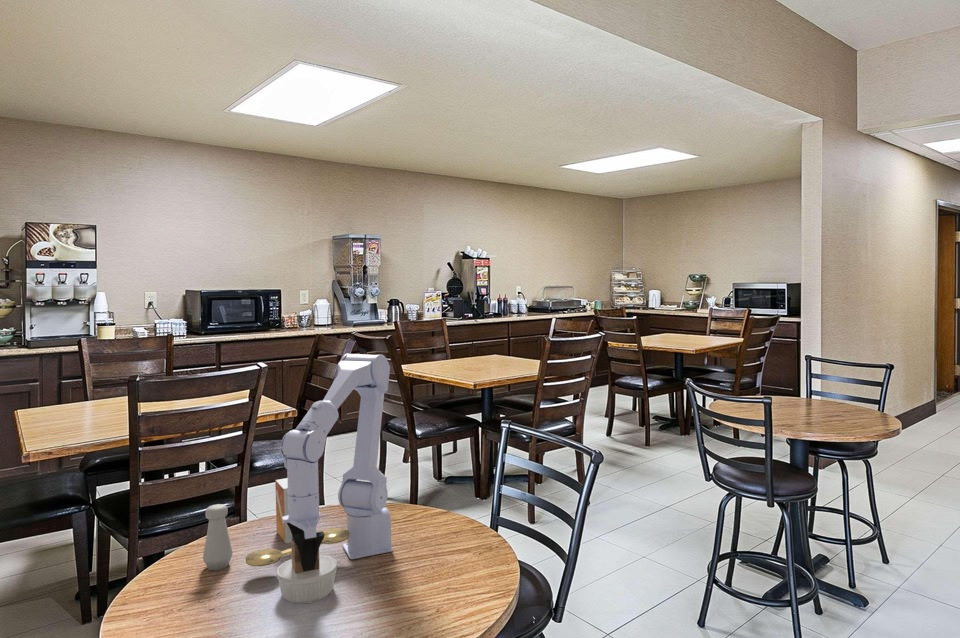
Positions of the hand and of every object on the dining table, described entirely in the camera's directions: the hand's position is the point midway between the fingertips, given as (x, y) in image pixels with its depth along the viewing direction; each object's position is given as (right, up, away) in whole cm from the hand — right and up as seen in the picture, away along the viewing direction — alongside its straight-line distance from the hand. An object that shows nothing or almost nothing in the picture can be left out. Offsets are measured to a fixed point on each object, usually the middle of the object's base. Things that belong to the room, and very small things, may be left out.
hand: (305, 561), depth 118 cm
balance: (-4, -6, +10) cm, 12 cm away
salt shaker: (-22, -6, +12) cm, 26 cm away
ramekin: (0, -6, 0) cm, 6 cm away
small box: (-11, -5, +28) cm, 31 cm away
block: (0, -1, 0) cm, 1 cm away
